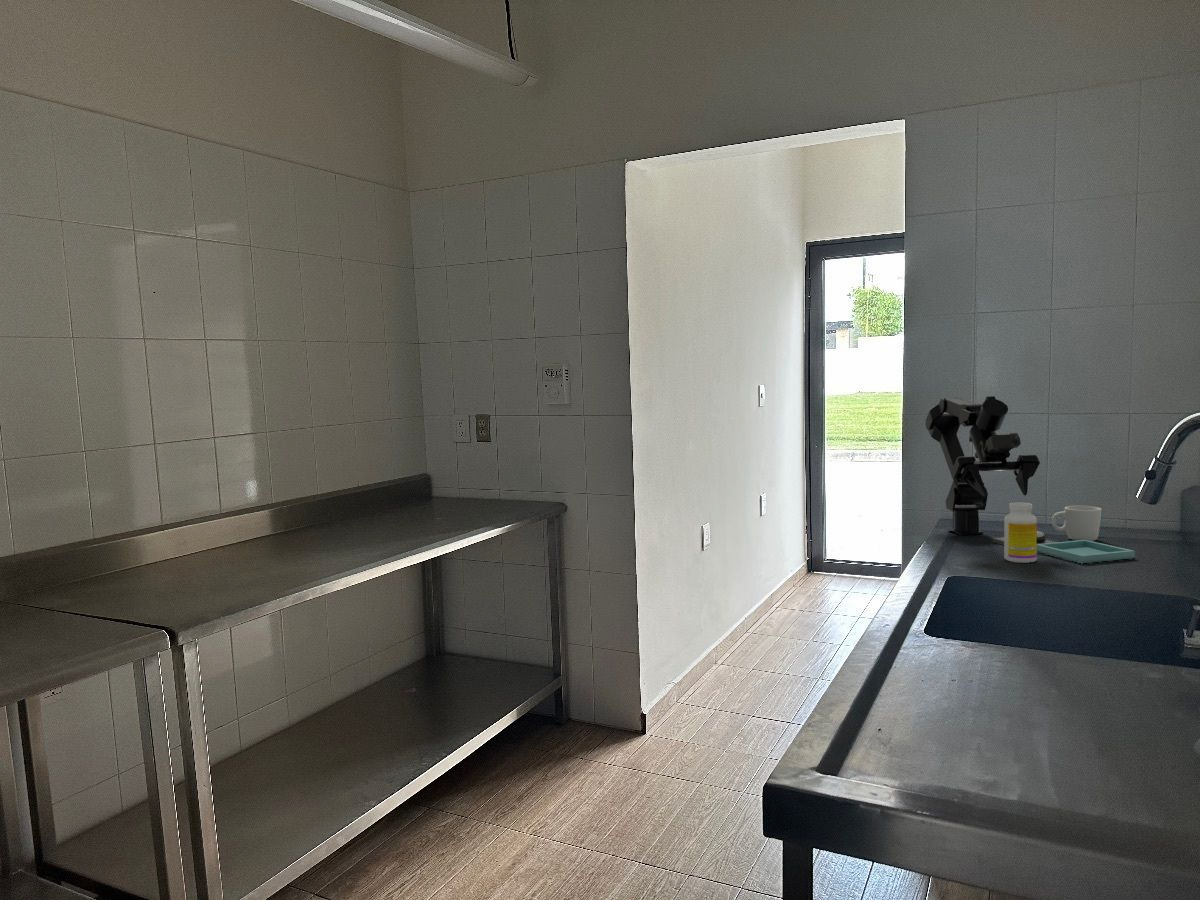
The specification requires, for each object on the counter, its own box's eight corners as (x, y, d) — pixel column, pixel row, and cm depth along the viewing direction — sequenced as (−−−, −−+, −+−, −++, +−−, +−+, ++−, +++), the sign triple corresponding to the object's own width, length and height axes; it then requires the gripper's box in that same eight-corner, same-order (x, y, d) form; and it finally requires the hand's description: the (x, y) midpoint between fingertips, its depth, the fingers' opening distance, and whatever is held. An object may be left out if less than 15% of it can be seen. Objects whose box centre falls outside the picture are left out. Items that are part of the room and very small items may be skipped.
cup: (1055, 542, 209) (1055, 510, 208) (1048, 536, 216) (1048, 505, 215) (1105, 543, 205) (1105, 510, 205) (1096, 537, 213) (1096, 505, 212)
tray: (1034, 551, 198) (1034, 544, 198) (1084, 547, 202) (1084, 539, 202) (1081, 564, 185) (1082, 556, 185) (1134, 558, 188) (1135, 550, 188)
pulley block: (992, 542, 211) (992, 527, 211) (1027, 539, 213) (1027, 524, 213) (1027, 551, 199) (1028, 535, 199) (1063, 548, 202) (1064, 532, 201)
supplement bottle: (1042, 563, 187) (1043, 505, 186) (1012, 564, 187) (1012, 506, 186) (1028, 556, 194) (1028, 501, 193) (998, 557, 194) (999, 501, 193)
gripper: (956, 423, 202) (974, 474, 192) (1036, 420, 201) (1058, 472, 191) (944, 453, 211) (961, 503, 201) (1021, 451, 210) (1042, 501, 200)
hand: (1005, 494), depth 198 cm, fingers open, 9 cm apart
